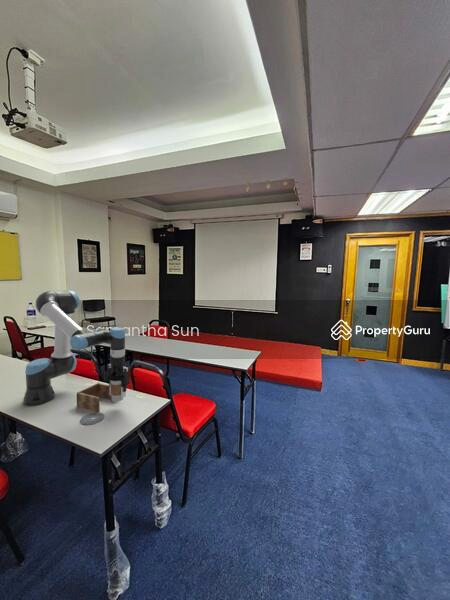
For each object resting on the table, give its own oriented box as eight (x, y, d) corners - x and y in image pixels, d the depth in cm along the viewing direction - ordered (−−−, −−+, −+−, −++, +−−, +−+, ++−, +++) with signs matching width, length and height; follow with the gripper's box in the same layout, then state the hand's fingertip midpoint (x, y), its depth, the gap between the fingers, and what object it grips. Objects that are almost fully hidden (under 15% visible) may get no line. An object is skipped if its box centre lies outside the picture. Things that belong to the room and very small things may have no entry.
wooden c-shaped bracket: (76, 406, 146) (76, 392, 145) (98, 395, 160) (98, 382, 159) (98, 412, 140) (97, 398, 139) (118, 400, 154) (118, 387, 153)
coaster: (75, 421, 131) (75, 420, 131) (93, 411, 141) (93, 410, 141) (91, 426, 127) (91, 425, 127) (108, 415, 137) (108, 414, 137)
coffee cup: (119, 403, 140) (120, 377, 138) (106, 401, 141) (106, 375, 140) (128, 396, 148) (128, 371, 146) (115, 394, 149) (115, 369, 148)
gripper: (98, 354, 142) (98, 394, 144) (127, 360, 135) (127, 402, 137) (108, 351, 149) (108, 389, 151) (137, 356, 142) (136, 396, 144)
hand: (117, 395), depth 144 cm, fingers closed on coffee cup, 7 cm apart
